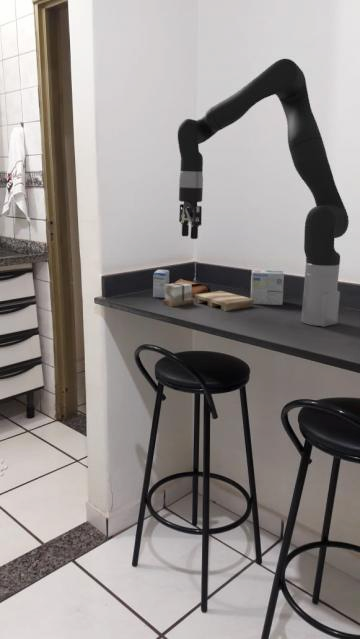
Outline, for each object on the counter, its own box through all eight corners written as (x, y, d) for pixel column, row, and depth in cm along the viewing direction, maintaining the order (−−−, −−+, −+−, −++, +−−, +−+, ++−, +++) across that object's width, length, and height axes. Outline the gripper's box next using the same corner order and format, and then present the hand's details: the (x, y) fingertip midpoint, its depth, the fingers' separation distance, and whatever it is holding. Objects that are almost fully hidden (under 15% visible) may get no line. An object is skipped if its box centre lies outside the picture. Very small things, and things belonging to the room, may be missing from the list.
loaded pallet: (193, 303, 171) (194, 284, 169) (172, 307, 166) (172, 287, 164) (184, 300, 175) (184, 282, 173) (162, 304, 170) (162, 284, 168)
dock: (253, 306, 168) (253, 299, 167) (226, 311, 161) (226, 303, 160) (220, 297, 180) (221, 290, 180) (194, 301, 173) (194, 294, 173)
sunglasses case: (162, 289, 194) (169, 273, 194) (174, 296, 198) (182, 280, 199) (193, 297, 180) (201, 280, 181) (205, 305, 185) (213, 288, 186)
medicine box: (156, 292, 187) (157, 269, 185) (169, 293, 186) (169, 269, 184) (152, 297, 179) (153, 272, 177) (165, 297, 179) (165, 273, 177)
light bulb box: (281, 301, 177) (283, 270, 174) (282, 305, 171) (285, 273, 168) (249, 300, 178) (251, 269, 175) (250, 304, 172) (252, 272, 169)
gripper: (210, 187, 159) (208, 239, 163) (194, 186, 172) (192, 235, 176) (187, 186, 157) (186, 240, 161) (172, 185, 170) (171, 235, 174)
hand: (189, 237), depth 169 cm, fingers open, 8 cm apart
